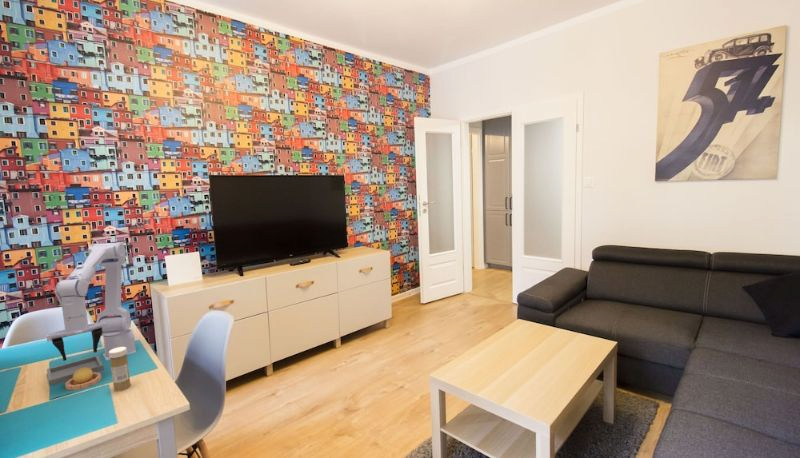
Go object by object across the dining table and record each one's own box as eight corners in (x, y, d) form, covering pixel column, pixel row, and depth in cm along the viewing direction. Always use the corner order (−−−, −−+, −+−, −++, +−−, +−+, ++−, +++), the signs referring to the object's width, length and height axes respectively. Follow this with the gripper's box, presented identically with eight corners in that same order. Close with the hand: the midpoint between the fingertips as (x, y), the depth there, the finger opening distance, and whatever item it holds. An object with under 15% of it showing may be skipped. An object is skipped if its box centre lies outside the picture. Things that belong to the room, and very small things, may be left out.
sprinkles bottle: (132, 384, 122) (127, 345, 121) (129, 390, 118) (124, 350, 117) (115, 387, 120) (110, 348, 119) (111, 394, 116) (106, 353, 115)
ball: (92, 377, 127) (90, 363, 126) (94, 382, 123) (92, 367, 123) (73, 382, 123) (71, 368, 122) (74, 388, 119) (72, 373, 119)
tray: (98, 361, 140) (97, 355, 139) (103, 371, 131) (103, 365, 131) (47, 375, 130) (46, 369, 129) (49, 387, 121) (49, 380, 121)
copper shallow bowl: (99, 374, 129) (98, 369, 129) (103, 383, 123) (102, 378, 123) (64, 384, 123) (64, 379, 123) (67, 394, 117) (66, 389, 117)
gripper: (45, 324, 112) (51, 367, 114) (105, 312, 123) (110, 351, 124) (43, 319, 117) (49, 360, 119) (101, 308, 128) (106, 345, 129)
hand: (80, 355), depth 122 cm, fingers open, 7 cm apart
